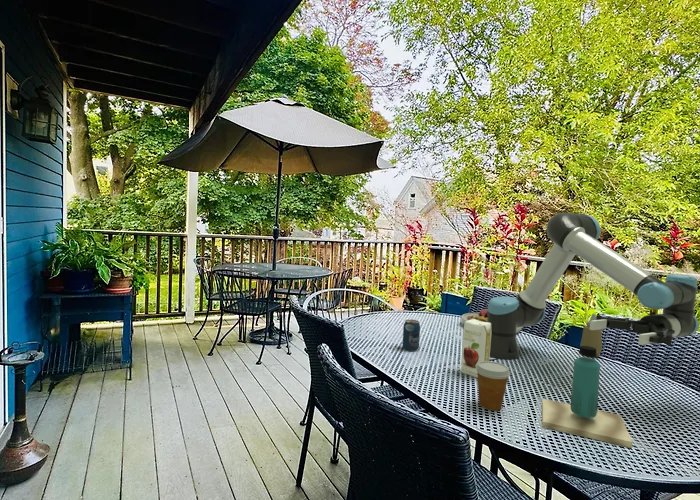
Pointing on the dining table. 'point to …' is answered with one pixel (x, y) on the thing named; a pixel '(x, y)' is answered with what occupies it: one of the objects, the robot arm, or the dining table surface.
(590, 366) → the beverage bottle
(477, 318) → the bowl
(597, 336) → the squeeze bottle
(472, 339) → the juice carton
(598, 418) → the birch board
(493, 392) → the disposable coffee cup
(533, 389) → the dining table surface
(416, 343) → the soda can
